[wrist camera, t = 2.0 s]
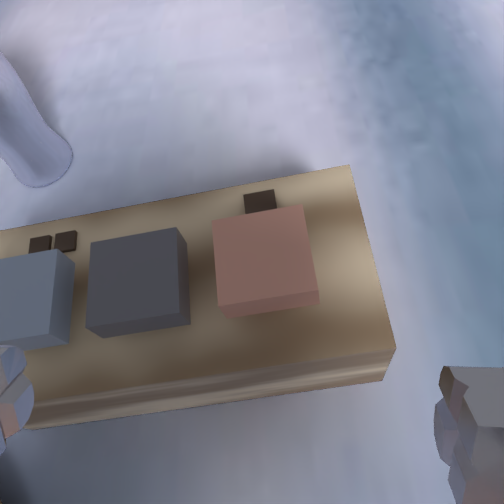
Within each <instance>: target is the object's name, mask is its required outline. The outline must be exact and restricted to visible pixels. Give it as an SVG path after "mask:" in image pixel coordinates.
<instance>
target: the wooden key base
mask: <svg viewBox="0 0 504 504" xmlns="http://www.w3.org/2000/svg"><path fill="white" fill-rule="evenodd" d="M299 204H302V205H303V210H304V216H305V221H306V226H307V232H308V237H309V242H310V247H311V253H312V258H313V263H314V269H315V274H316V279H317V285H318V290H319V300H320V304H316V305H310V306H303V307H297V308H291V309H285V310H278V311H272V312H266V313H260V314H253V315H247V316H241V317H235V318H228V319H227V318H226V317H225V315H224V314H223V312H222V311H221V310H220V308H219V307H218V297H217V284H216V271H215V258H214V245H213V232H212V220H217V219H223V218H228V217H234V216H239V215H244V214H250V213H255V212H261V211H266V210H272V209H277V208H283V207H288V206H294V205H299ZM173 227H177V229H178V230H179V232H180V233H181V235H182V236H183V238H184V239H185V241H186V243H187V253H188V275H189V296H190V318H191V324H190V325H184V326H178V327H172V328H165V329H159V330H153V331H147V332H140V333H134V334H128V335H121V336H115V337H109V338H101V337H100V336H98V335H96V334H95V333H93V332H91V331H90V330H88V329H86V328H85V323H86V307H87V292H88V276H89V261H90V245H91V242H96V241H102V240H107V239H113V238H118V237H124V236H129V235H135V234H140V233H146V232H151V231H157V230H162V229H168V228H173ZM52 249H59V250H60V251H61V252H62V253H63V254H65V255H66V256H67V257H68V258H69V259H71V260H72V261H73V262H74V263H75V274H74V287H73V299H72V312H71V324H70V337H69V344H65V345H58V346H52V347H46V348H40V349H33V350H27V351H23V352H24V355H25V358H26V362H27V366H26V367H25V369H24V371H23V374H24V375H25V376H26V377H27V378H28V379H29V380H30V381H31V382H32V386H33V390H34V406H33V408H32V411H31V414H30V417H29V420H28V421H27V422H26V424H25V425H24V426H23V428H25V429H31V430H35V429H42V428H49V427H56V426H64V425H71V424H78V423H85V422H92V421H99V420H106V419H113V418H120V417H128V416H135V415H142V414H149V413H156V412H163V411H170V410H177V409H184V408H191V407H199V406H206V405H213V404H220V403H227V402H234V401H241V400H248V399H255V398H262V397H270V396H277V395H284V394H291V393H298V392H305V391H312V390H319V389H326V388H333V387H341V386H348V385H355V384H362V383H369V382H376V381H382V379H383V377H384V375H385V373H386V370H387V368H388V366H389V364H390V361H391V359H392V357H393V354H394V352H395V350H396V344H395V340H394V336H393V332H392V328H391V325H390V321H389V317H388V313H387V309H386V305H385V301H384V297H383V293H382V289H381V286H380V282H379V278H378V274H377V270H376V266H375V262H374V258H373V254H372V251H371V247H370V243H369V239H368V235H367V231H366V227H365V223H364V219H363V216H362V212H361V208H360V204H359V200H358V196H357V192H356V188H355V184H354V181H353V177H352V173H351V169H350V165H344V166H338V167H333V168H328V169H323V170H317V171H312V172H307V173H302V174H296V175H291V176H286V177H280V178H275V179H270V180H265V181H259V182H254V183H249V184H244V185H238V186H233V187H228V188H222V189H217V190H212V191H207V192H201V193H196V194H191V195H186V196H180V197H175V198H170V199H164V200H159V201H154V202H149V203H143V204H138V205H133V206H128V207H122V208H117V209H112V210H107V211H101V212H96V213H91V214H85V215H80V216H75V217H70V218H64V219H59V220H54V221H49V222H43V223H38V224H33V225H27V226H22V227H17V228H12V229H6V230H1V231H0V259H3V258H9V257H14V256H20V255H25V254H31V253H36V252H41V251H47V250H52Z"/></svg>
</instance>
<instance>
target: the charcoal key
mask: <svg viewBox="0 0 504 504" xmlns="http://www.w3.org/2000/svg"><path fill="white" fill-rule="evenodd" d="M190 324H191V318H190V296H189V275H188V253H187V243H186V241H185V239H184V238H183V236H182V235H181V233H180V232H179V230H178V229H177V227H173V228H168V229H162V230H157V231H151V232H146V233H140V234H135V235H129V236H124V237H118V238H113V239H107V240H102V241H96V242H91V245H90V261H89V276H88V292H87V307H86V323H85V328H86V329H88V330H90V331H91V332H93V333H95V334H96V335H98V336H100V337H101V338H109V337H115V336H121V335H128V334H134V333H140V332H147V331H153V330H159V329H165V328H172V327H178V326H184V325H190Z"/></svg>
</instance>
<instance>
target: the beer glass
mask: <svg viewBox="0 0 504 504" xmlns="http://www.w3.org/2000/svg"><path fill="white" fill-rule="evenodd" d="M0 158H1V159H2V160H3V161H4V162H5V163H6V164H7V165H8V166H9V168H10V169H11V171H12V172H13V174H14V175H15V177H16V178H17V179H18V180H19V181H20V182H21V183H22V184H24V185H26V186H28V187H42V186H46V185H49V184H51V183H53V182H55V181H56V180H58V179H59V178H60V177H61V176H62V175H63V174H64V173H65V172H66V171H67V169H68V168H69V166H70V164H71V161H72V150H71V147H70V145H69V144H68V143H67V142H66V141H65V140H64V139H63V138H62V137H60V136H59V135H58V134H57V133H55V132H54V131H53V130H52V129H51V128H50V127H49V126H48V125H47V124H46V122H45V121H44V120H43V118H42V116H41V115H40V113H39V111H38V109H37V108H36V106H35V104H34V102H33V100H32V98H31V96H30V95H29V93H28V91H27V89H26V87H25V85H24V84H23V82H22V80H21V79H20V77H19V76H18V74H17V72H16V71H15V69H14V68H13V67H12V65H11V64H10V63H9V61H8V60H7V59H6V57H5V56H4V55H3V54H2V52H1V51H0Z"/></svg>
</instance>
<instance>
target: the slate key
mask: <svg viewBox="0 0 504 504" xmlns="http://www.w3.org/2000/svg"><path fill="white" fill-rule="evenodd" d="M74 274H75V263H74V262H73V261H72V260H71V259H69V258H68V257H67V256H66V255H65V254H63V253H62V252H61V251H60V250H59V249H52V250H47V251H41V252H36V253H31V254H25V255H20V256H14V257H9V258H3V259H0V345H10V346H17V347H19V348H20V349H22V350H23V351H27V350H33V349H40V348H46V347H52V346H58V345H65V344H69V337H70V324H71V312H72V299H73V287H74Z"/></svg>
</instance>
